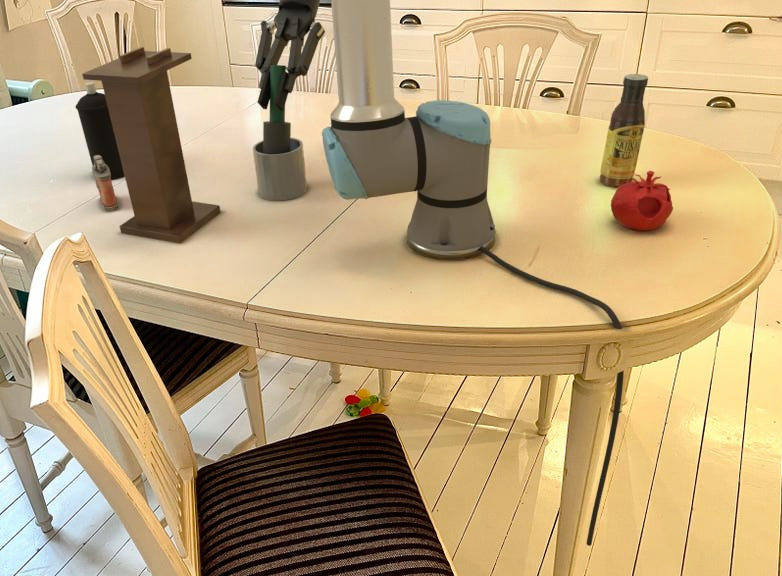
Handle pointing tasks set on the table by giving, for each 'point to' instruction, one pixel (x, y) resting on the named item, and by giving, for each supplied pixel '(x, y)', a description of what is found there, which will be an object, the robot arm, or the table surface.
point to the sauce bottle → (625, 133)
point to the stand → (151, 145)
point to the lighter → (104, 184)
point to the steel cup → (280, 172)
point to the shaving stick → (276, 119)
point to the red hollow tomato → (642, 203)
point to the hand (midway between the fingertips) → (270, 106)
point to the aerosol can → (99, 130)
